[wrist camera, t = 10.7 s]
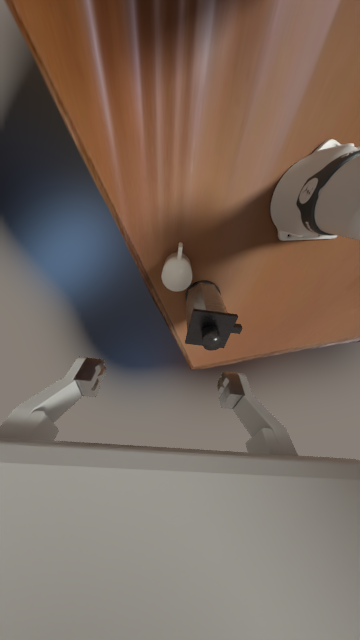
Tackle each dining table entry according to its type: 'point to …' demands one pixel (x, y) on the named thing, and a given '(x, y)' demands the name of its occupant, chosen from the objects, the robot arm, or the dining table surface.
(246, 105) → the dining table surface
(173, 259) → the diner mug
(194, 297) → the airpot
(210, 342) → the pump plunger
